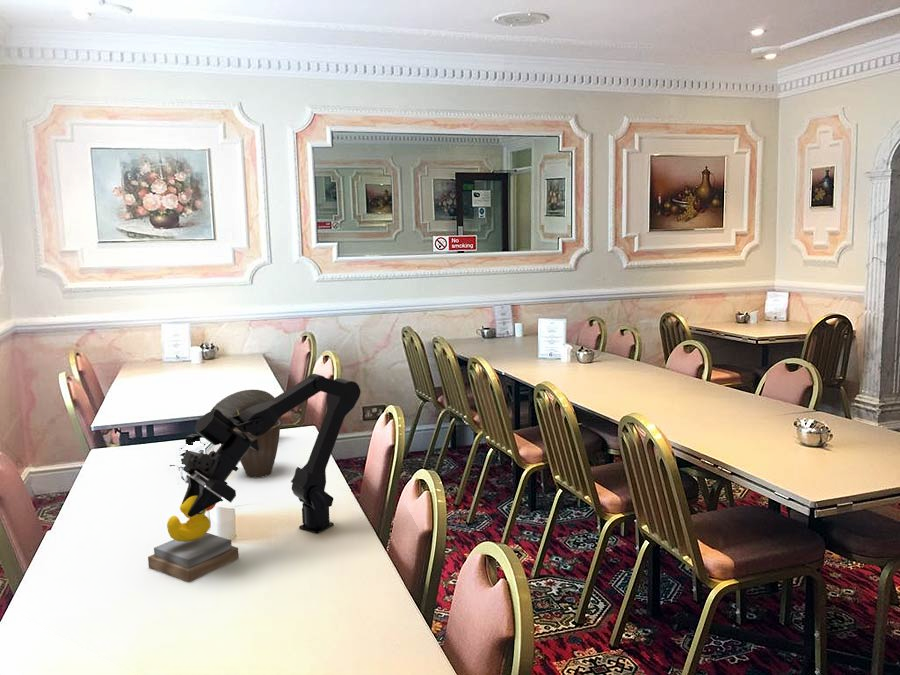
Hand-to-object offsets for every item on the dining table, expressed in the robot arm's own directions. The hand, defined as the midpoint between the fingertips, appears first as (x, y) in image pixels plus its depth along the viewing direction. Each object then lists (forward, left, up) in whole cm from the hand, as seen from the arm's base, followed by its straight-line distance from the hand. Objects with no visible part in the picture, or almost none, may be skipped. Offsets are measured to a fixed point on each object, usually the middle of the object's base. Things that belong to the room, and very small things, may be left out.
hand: (185, 513), depth 172 cm
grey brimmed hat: (+61, -72, -13) cm, 95 cm away
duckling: (-1, -1, -7) cm, 7 cm away
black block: (+78, -63, -13) cm, 101 cm away
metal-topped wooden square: (0, -1, -12) cm, 12 cm away
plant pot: (+35, -53, -12) cm, 65 cm away
